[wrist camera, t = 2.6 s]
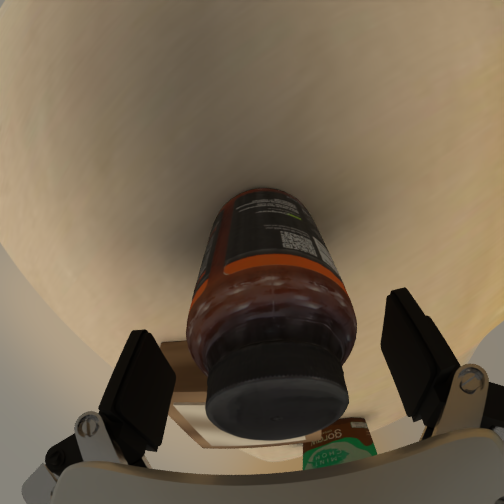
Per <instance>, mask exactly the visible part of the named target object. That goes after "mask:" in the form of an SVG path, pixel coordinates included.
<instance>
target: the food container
mask: <svg viewBox="0 0 504 504" xmlns="http://www.w3.org/2000/svg"><path fill="white" fill-rule="evenodd" d="M374 455H378V454H377V452H376V449H375V446H374V443H373V440H372V438H371V435H370V432H369V429H368V427H367V424H366V421H365V419H363V418H352V417H351V418H342V419H338V420H337V421H335V422H334V423H332V424H331V425H329V426H328V427H326V428H324V429H322V430H321V440H317V441H311V442H305V443H303V470H308V469H315V468H321V467H327V466H332V465H337V464H342V463H347V462H351V461H355V460H359V459H363V458H367V457H371V456H374Z"/></svg>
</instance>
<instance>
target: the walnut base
mask: <svg viewBox="0 0 504 504" xmlns="http://www.w3.org/2000/svg"><path fill="white" fill-rule="evenodd" d="M160 349H161V351H162V353H163V354H164V356H165V358H166V359H167V361H168V362H169V364H170V366H171V367H172V369H173V370H174V372H175V374H176V383H175V387H174V391H173V395H172V399H171V404H170V408H169V412H168V415H169V416H170V417H171V418H172V419H173V420H174V421H175V422H176V423H177V424H178V425H179V426H180V427H181V428H182V429H183V430H184V431H185V432H186V433H187V434H188V435H189V436H190V437H191V438H192V439H193V440H194V441H196V442H197V443H198V444H199V445H200V446H201V447H202V448H219V449H222V448H225V449H226V448H256V447H270V446H280V445H289V444H297V443H305V442H311V441H317V440H321V430H319V431H317V432H314V433H312V434H309V435H306V436H302V437H297V438H292V439H286V440H277V441H264V440H250V439H245V438H240V437H236V436H234V435H231V434H229V433H226V432H224V431H222V430H220V429H218V428H217V427H216V426H215V425H214V424H213V423H212V422H211V421H210V420H209V419H208V417H207V415H206V410H205V404H206V397H207V388H208V386H207V378H208V377H207V376H206V375H205V374H203V373H202V371H201V370H200V369H199V367H198V366H197V365H196V363H195V362H194V360H193V359H192V356H191V354H190V352H189V349H188V344H187V341H177V342H163V343H162V344H161V347H160Z"/></svg>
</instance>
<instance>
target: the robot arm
mask: <svg viewBox="0 0 504 504" xmlns="http://www.w3.org/2000/svg"><path fill="white" fill-rule="evenodd" d="M381 350H382V353H383V355H384V357H385V360H386V362H387V365H388V367H389V369H390V372H391V374H392V377H393V379H394V382H395V385H396V387H397V390H398V392H399V395H400V398H401V400H402V403H403V406H404V409H405V411H406V414H407V416H408V417H411V416H412V419H413V422H416V421H418V420H421V419H422V420H423V423H424V425H425V429H424V431H423V433H422V436H421V438H420V440H419V442H416V443H413V444H410V445H407V446H405V447H401V448H398V449H395V450H392V451H389V452H385V453H382V454H378V455H374V456H371V457H367V458H363V459H359V460H355V461H351V462H347V463H342V464H337V465H332V466H327V467H321V468H315V469H308V470H302V471H294V472H284V473H272V474H256V475H209V474H193V473H181V472H172V471H164V470H156V469H152V468H151V466H150V464H149V462H148V461H147V459H146V457H145V455H144V454H145V450H147V451H154V452H157V449H158V446H160V445H161V443H162V439H163V435H164V430H165V426H166V421H167V416H168V412H169V408H170V404H171V399H172V395H173V391H174V387H175V383H176V374H175V372H174V370H173V369H172V367H171V366H170V364H169V362H168V361H167V359H166V358H165V356H164V354H163V353H162V351H161V349H160V348H159V346H158V344H157V343H156V341H155V339H154V337H153V336H152V334H151V333H148V331H147V330H133V331H132V332H131V334H130V336H129V338H128V340H127V342H126V344H125V346H124V349H123V351H122V353H121V355H120V357H119V360H118V362H117V364H116V367H115V369H114V371H113V374H112V376H111V378H110V380H109V383H108V385H107V388H106V390H105V393H104V395H103V397H102V400H101V402H100V405H99V408H98V409H99V410H100V411H99V413H96V412H93V411H89V412H86V413H84V414H82V415H81V416H80V417H79V418H78V419H77V421H76V423H75V427H74V430H75V433H74V434H73V435H71V436H69V437H68V438H66V439H65V440H63V441H61V442H59V443H58V444H56V445H54V446H53V447H51V448H50V449H49V450H48V452H47V454H46V457H45V462H46V464H44V463H42V464H41V465H40V467H39V468H38V469H37V470H36V471H35V472H34V473H33V474H32V475H31V476H30V477H29V478H28V479H27V480H26V481H25V483H24V484H23V486H22V495H23V498H24V500H25V501H26V503H27V504H504V386H501V385H498V384H495V383H491V382H489V378H488V375H487V373H486V371H485V370H484V369H483V368H482V367H480V366H478V365H476V364H465V365H463V366H460V364H459V362H458V361H457V359H456V357H455V355H454V354H453V352H452V350H451V349H450V347H449V346H448V344H447V342H446V341H445V339H444V337H443V336H442V334H441V333H440V331H439V330H438V328H437V327H436V325H435V324H434V322H433V321H432V319H431V318H430V317H429V316H425V314H424V313H423V311H422V310H421V308H420V307H419V305H418V304H417V303H416V301H415V300H414V298H413V297H412V295H411V294H410V292H409V291H408V290H407V289H406V288H405V287H404V288H400V289H396V290H392V291H391V293H390V295H388V296H387V299H386V308H385V316H384V324H383V331H382V338H381Z"/></svg>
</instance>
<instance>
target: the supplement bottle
mask: <svg viewBox="0 0 504 504" xmlns="http://www.w3.org/2000/svg"><path fill="white" fill-rule="evenodd" d="M356 333H357V321H356V316H355V313H354V309H353V306H352V303H351V301H350V298H349V296H348V294H347V291H346V289H345V286H344V284H343V282H342V280H341V277H340V275H339V273H338V271H337V269H336V267H335V265H334V262H333V260H332V258H331V256H330V254H329V252H328V250H327V247H326V245H325V243H324V241H323V239H322V237H321V235H320V233H319V231H318V229H317V227H316V225H315V223H314V221H313V219H312V217H311V216H310V214H309V212H308V211H307V209H306V208H305V207H304V206H303V204H302V203H301V202H300V201H299V200H298V199H296V198H294V197H293V196H291V195H290V194H287V193H285V192H283V191H279V190H276V189H268V188H261V189H259V188H258V189H253V190H249V191H246V192H243V193H241V194H239V195H237V196H236V197H234V198H232V199H231V200H230V201H229V202H228V203H226V204H225V205H224V206H223V208H222V209H221V210H220V212H219V214H218V216H217V217H216V220H215V222H214V224H213V227H212V230H211V234H210V237H209V240H208V244H207V247H206V251H205V254H204V258H203V261H202V265H201V268H200V272H199V276H198V280H197V283H196V286H195V290H194V295H193V297H192V303H191V307H190V311H189V315H188V320H187V329H186V338H187V344H188V349H189V352H190V354H191V356H192V359H193V360H194V362H195V363H196V365H197V366H198V367H199V369H200V370H201V371H202V373H203V374H205V375H206V376H207V377H208V378H207V386H208V388H207V397H206V404H205V410H206V415H207V417H208V419H209V420H210V421H211V422H212V423H213V424H214V425H215V426H216V427H217V428H218V429H220V430H222V431H224V432H226V433H229V434H231V435H234V436H236V437H240V438H245V439H250V440H264V441H277V440H286V439H292V438H297V437H302V436H306V435H309V434H312V433H314V432H317V431H319V430H322V429H324V428H326V427H328V426H329V425H331V424H332V423H334V422H335V421H337V420H338V419H339V418H340V417H341V416H342V415H343V413H344V412H345V410H346V408H347V406H348V404H349V396H348V391H347V387H346V384H345V380H344V372H343V369H342V365H343V364H344V363H345V361H346V360H347V358H348V356H349V355H350V353H351V351H352V348H353V346H354V343H355V340H356Z"/></svg>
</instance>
